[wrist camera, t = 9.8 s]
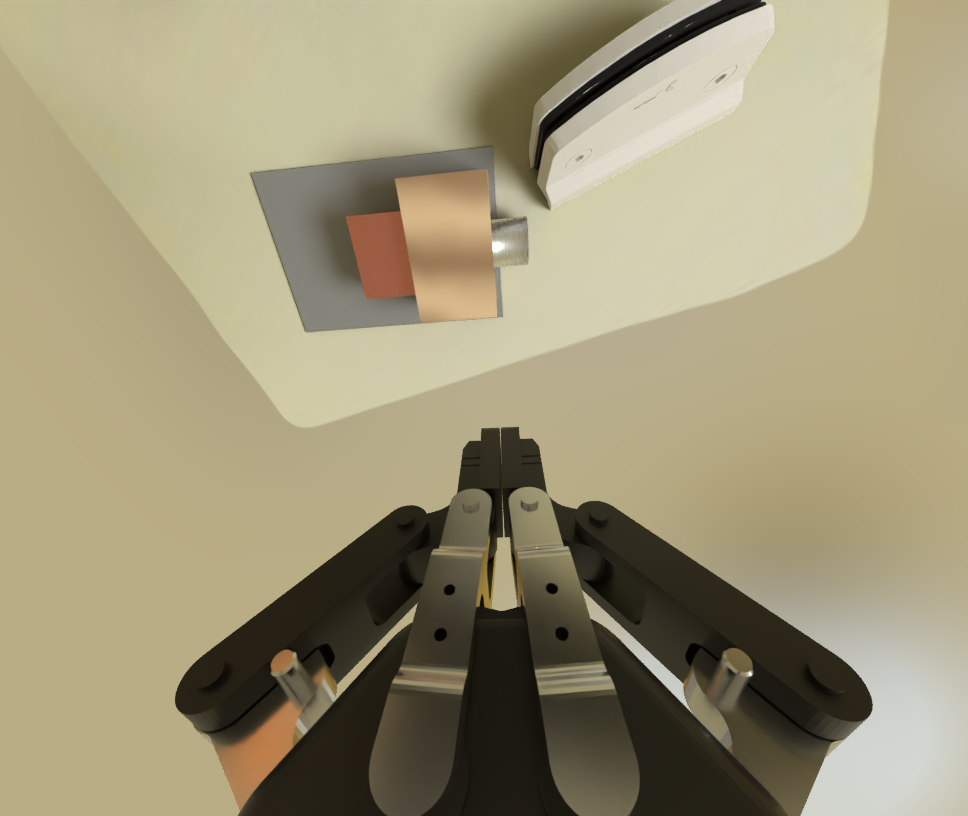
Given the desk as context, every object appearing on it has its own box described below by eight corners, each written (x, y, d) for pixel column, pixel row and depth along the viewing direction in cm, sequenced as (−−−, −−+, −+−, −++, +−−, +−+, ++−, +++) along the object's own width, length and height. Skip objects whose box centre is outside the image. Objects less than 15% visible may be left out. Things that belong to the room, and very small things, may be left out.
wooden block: (411, 181, 33) (394, 178, 27) (488, 173, 32) (486, 168, 27) (431, 304, 38) (420, 322, 33) (496, 299, 38) (497, 316, 33)
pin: (379, 288, 37) (366, 299, 33) (363, 214, 34) (345, 216, 30) (526, 275, 36) (529, 285, 32) (523, 197, 33) (527, 198, 29)
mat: (252, 173, 33) (250, 173, 33) (492, 146, 32) (492, 146, 31) (307, 331, 41) (306, 332, 40) (502, 316, 39) (502, 316, 39)
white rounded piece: (546, 212, 34) (545, 167, 24) (526, 162, 33) (517, 96, 24) (736, 110, 30) (824, 7, 20) (717, 51, 29) (799, -84, 20)
